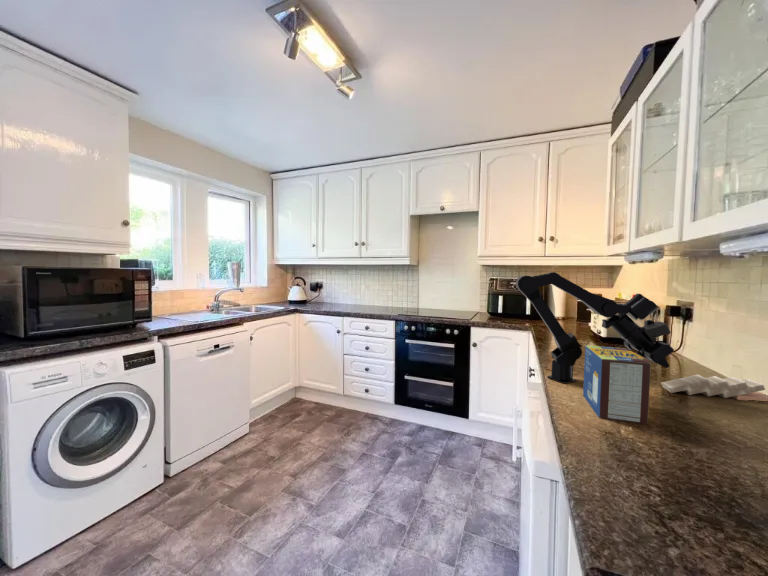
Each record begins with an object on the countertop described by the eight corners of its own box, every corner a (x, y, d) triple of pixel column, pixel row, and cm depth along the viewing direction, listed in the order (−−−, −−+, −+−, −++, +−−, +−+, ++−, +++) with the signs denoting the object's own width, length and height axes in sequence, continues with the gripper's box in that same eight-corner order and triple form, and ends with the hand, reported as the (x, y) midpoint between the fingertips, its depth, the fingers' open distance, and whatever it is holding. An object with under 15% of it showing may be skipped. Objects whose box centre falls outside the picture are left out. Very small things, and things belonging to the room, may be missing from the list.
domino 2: (687, 390, 95) (726, 381, 93) (677, 384, 100) (714, 375, 97) (689, 395, 95) (729, 386, 92) (679, 389, 100) (716, 380, 97)
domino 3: (705, 391, 94) (745, 382, 92) (694, 385, 99) (732, 376, 96) (708, 396, 94) (748, 387, 91) (696, 390, 99) (734, 381, 96)
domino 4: (722, 392, 93) (763, 384, 91) (709, 387, 98) (748, 379, 96) (724, 398, 93) (765, 389, 91) (711, 391, 98) (750, 384, 96)
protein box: (623, 400, 91) (626, 347, 90) (648, 425, 76) (652, 362, 76) (582, 395, 94) (584, 344, 93) (598, 418, 80) (601, 358, 79)
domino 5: (737, 395, 92) (781, 399, 90) (724, 389, 97) (765, 392, 95) (737, 401, 92) (781, 405, 90) (723, 394, 97) (765, 398, 95)
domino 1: (669, 388, 97) (708, 379, 94) (660, 382, 102) (697, 374, 99) (671, 393, 97) (710, 384, 94) (662, 387, 102) (699, 379, 98)
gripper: (667, 317, 91) (713, 358, 88) (636, 309, 108) (673, 343, 106) (633, 342, 93) (676, 382, 91) (608, 330, 111) (644, 364, 109)
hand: (667, 366), depth 99 cm, fingers closed
